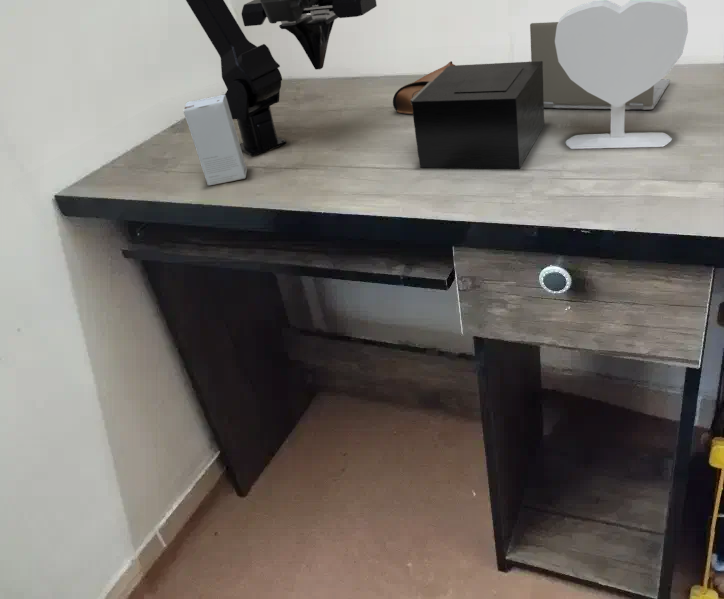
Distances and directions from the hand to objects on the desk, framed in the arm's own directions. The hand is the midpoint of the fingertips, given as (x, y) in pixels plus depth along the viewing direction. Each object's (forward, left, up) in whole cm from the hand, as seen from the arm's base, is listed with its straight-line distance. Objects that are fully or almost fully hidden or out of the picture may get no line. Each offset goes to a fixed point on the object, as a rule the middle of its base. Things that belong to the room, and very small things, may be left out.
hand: (319, 68), depth 105 cm
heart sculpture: (+32, +26, -13) cm, 43 cm away
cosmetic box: (-6, -16, -13) cm, 22 cm away
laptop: (+18, +39, -13) cm, 45 cm away
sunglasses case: (-6, +26, -13) cm, 30 cm away
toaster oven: (+18, +15, -13) cm, 26 cm away
